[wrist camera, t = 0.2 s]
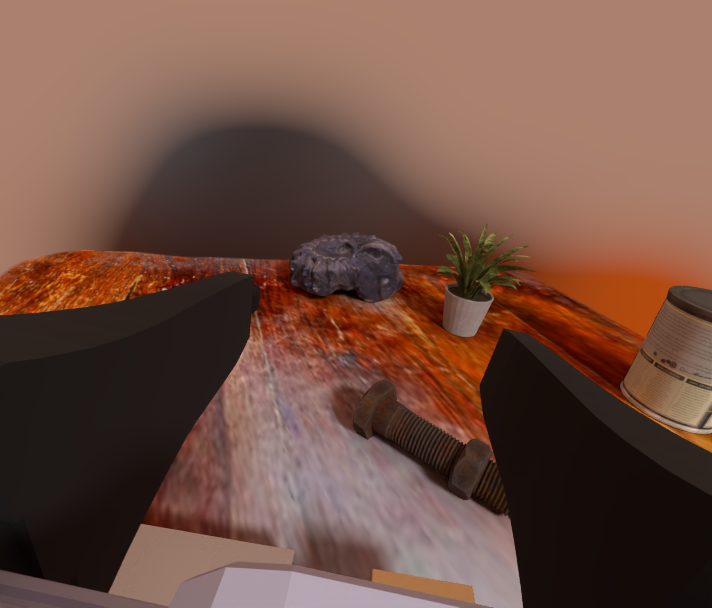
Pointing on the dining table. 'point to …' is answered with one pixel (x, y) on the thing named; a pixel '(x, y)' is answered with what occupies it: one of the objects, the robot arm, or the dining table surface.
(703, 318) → the coffee can
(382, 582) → the tan chamfered block
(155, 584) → the grey slab with hole
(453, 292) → the house plant
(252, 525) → the dining table surface
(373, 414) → the bolt
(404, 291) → the dining table surface
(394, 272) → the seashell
